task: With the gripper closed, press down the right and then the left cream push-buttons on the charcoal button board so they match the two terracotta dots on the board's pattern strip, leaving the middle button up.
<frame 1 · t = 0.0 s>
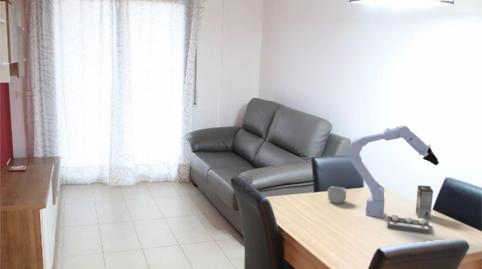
hand: (436, 162, 223), 32 cm above the table, tool tilted 50°, fingers open, 7 cm apart
button board: (408, 226, 222), on the table
left button: (395, 218, 225), point 3 cm above the table, slide at 0.0 cm
middle button: (408, 219, 222), point 3 cm above the table, slide at 0.0 cm
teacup: (335, 201, 259), on the table
right button: (422, 221, 220), point 3 cm above the table, slide at 0.0 cm
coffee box: (422, 216, 237), on the table
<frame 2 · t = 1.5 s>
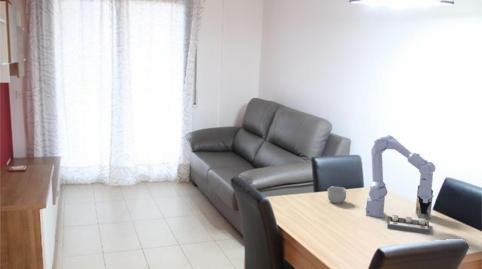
hand: (423, 212, 219), 8 cm above the table, tool pointing down, fingers open, 5 cm apart
nothing on the table moved.
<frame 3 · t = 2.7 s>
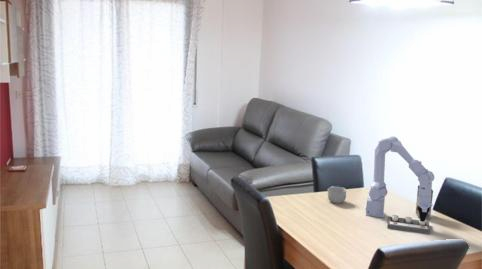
hand: (422, 220, 220), 4 cm above the table, tool pointing down, fingers closed, pressing on right button
right button: (422, 223, 221), point 3 cm above the table, slide at 0.7 cm, touching gripper
everything else where it was.
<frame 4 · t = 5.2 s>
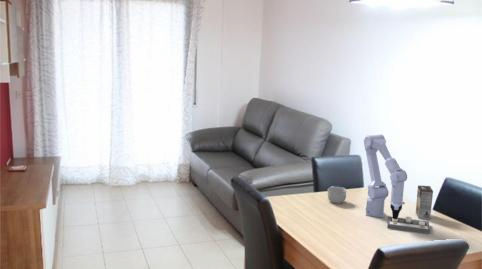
hand: (395, 218, 225), 3 cm above the table, tool pointing down, fingers closed, pressing on left button
left button: (394, 220, 225), point 2 cm above the table, slide at 1.5 cm, touching gripper
right button: (421, 224, 221), point 2 cm above the table, slide at 1.6 cm
everything else where it was.
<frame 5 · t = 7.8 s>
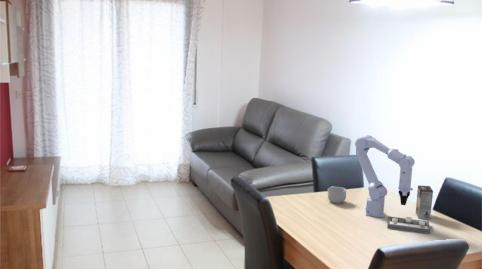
hand: (403, 204, 227), 9 cm above the table, tool pointing down, fingers closed
left button: (394, 221, 225), point 2 cm above the table, slide at 1.6 cm
everything else where it was.
at the end: right button slide at 1.6 cm; left button slide at 1.6 cm; middle button slide at 0.0 cm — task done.
